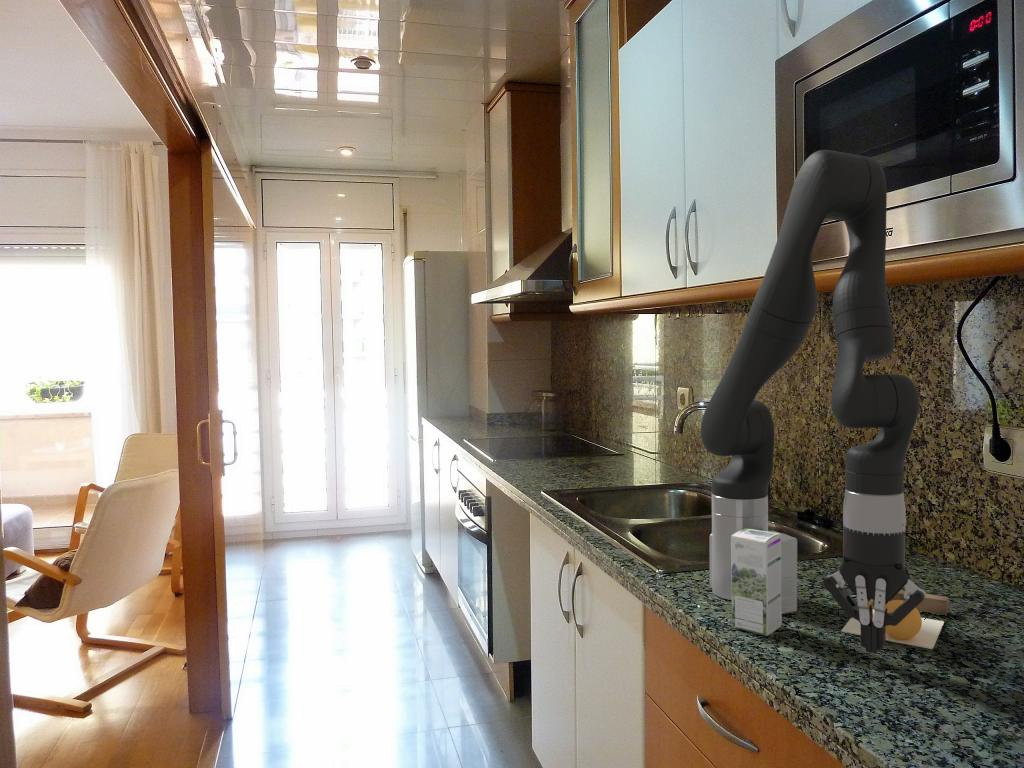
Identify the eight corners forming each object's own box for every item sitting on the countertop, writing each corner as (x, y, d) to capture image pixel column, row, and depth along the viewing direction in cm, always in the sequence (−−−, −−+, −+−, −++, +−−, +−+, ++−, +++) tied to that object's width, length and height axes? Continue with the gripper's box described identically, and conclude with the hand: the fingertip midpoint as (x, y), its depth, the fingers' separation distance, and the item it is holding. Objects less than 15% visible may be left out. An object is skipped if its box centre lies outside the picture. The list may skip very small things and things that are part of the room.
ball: (879, 616, 116) (867, 628, 112) (896, 587, 114) (884, 599, 110) (915, 639, 113) (904, 653, 109) (933, 610, 111) (922, 623, 107)
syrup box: (782, 626, 118) (782, 532, 117) (766, 637, 113) (766, 540, 112) (747, 617, 121) (747, 526, 121) (730, 628, 117) (729, 534, 116)
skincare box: (752, 603, 128) (751, 532, 127) (773, 600, 129) (772, 529, 128) (776, 615, 122) (776, 541, 121) (798, 611, 123) (798, 537, 123)
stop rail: (863, 602, 127) (863, 587, 127) (865, 599, 129) (865, 584, 128) (946, 616, 120) (946, 600, 120) (948, 612, 122) (948, 597, 121)
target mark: (841, 631, 115) (841, 630, 115) (859, 608, 124) (859, 606, 124) (932, 649, 108) (932, 647, 108) (944, 622, 117) (944, 621, 117)
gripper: (814, 523, 104) (814, 650, 105) (925, 536, 96) (924, 673, 97) (828, 513, 110) (828, 632, 111) (933, 524, 102) (932, 652, 103)
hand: (873, 651), depth 104 cm, fingers closed
